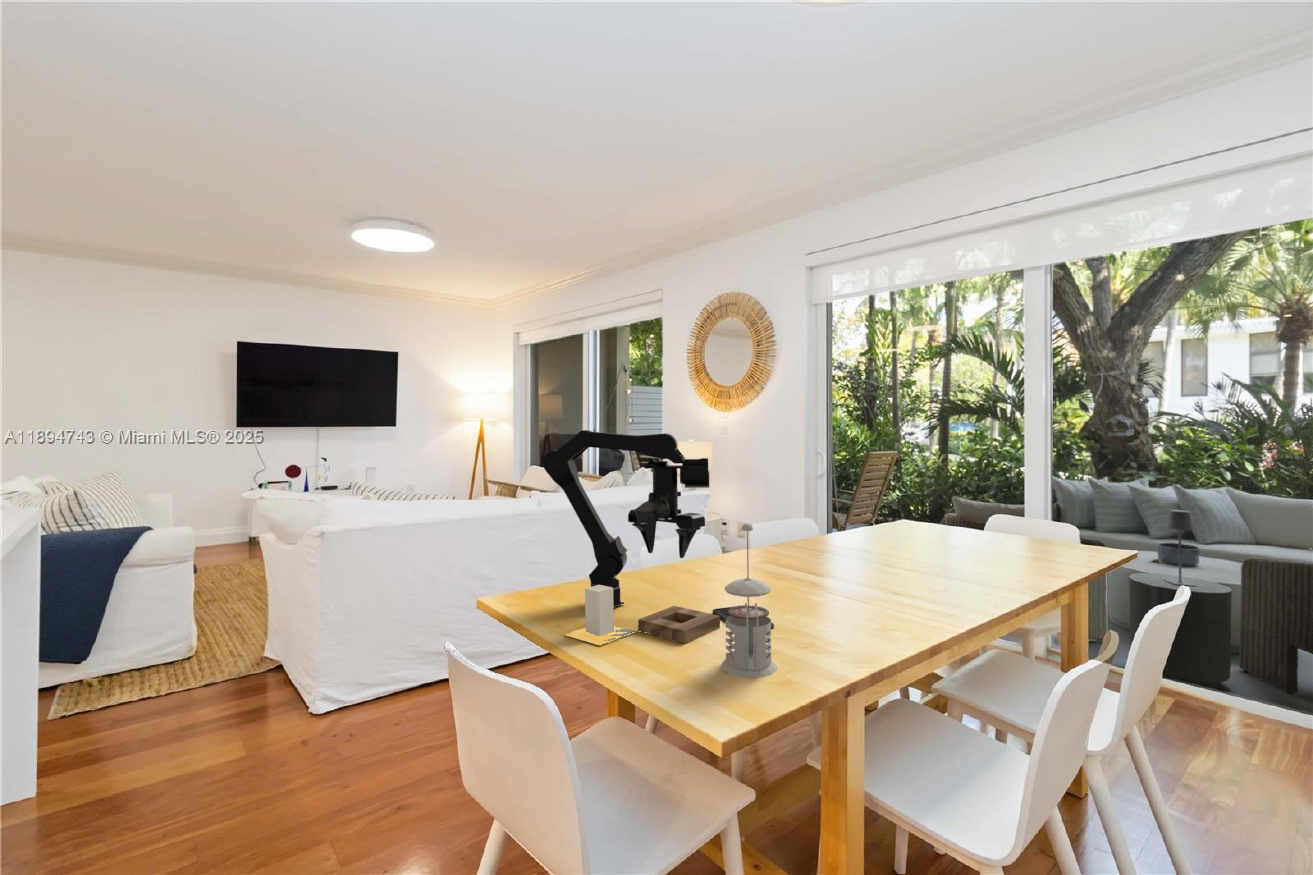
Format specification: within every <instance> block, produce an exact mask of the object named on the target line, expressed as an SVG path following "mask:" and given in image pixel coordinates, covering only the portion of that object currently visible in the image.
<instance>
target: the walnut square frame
mask: <svg viewBox="0 0 1313 875" xmlns="http://www.w3.org/2000/svg"><path fill="white" fill-rule="evenodd" d="M720 628H721V619H720V616H719V615H714V614H713V613H709V612H705V611H700V610H694V609H692V608H686V607H681V606H677V605H672V606H669V607H667V608H664V609H662V610H659V611H657V612H654V613H651V614H649V615H646V616H643V617H641V618H638V619H637V630H638V631H641V632H640V633H642V632H647V633H650V634H653V635H652V636H654V635H655V636H654V637H657V636H661V637H663V638H662V639H665V638H666V639H665V640H669V641H674V642H676V641H677V642H678V643H681V644H684V645H686V644H688V643H690V642H692V641H694V640H697V639H699V638H701V637H703V636H705V635H707V634H710V633H712V632H714V631H716V630H718V629H720ZM638 631H637V632H638ZM650 634H649V635H650ZM661 637H660V638H661Z"/></svg>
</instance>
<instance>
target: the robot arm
mask: <svg viewBox="0 0 1313 875" xmlns="http://www.w3.org/2000/svg"><path fill="white" fill-rule="evenodd" d="M678 445H679V444H678V441H677V439H676V438H675V436H674V435H673V434H672V433H671V434H670V433H665V432H663V433H656V434H654V433H653V434H645V435H644V434H643V435H637V434H636V435H635V434H623V433H610V432H600V431H592V430H589V429H585V430H580V431H579V432H578V433H576V435H575V436H574V437H572V438H571V439H570V440H568V441H567V442H565V443H564V444H563V445H562V446H560V447H559V448H558V449H553V450H551V451H548V452H547V453H546V454H545V455H544V457H543V460H542V467H543V469H544V471H545V472H546V473H547V475H548V476H549V477H550V478H551V479H552V481H553V482H554V483H555V484H556V485H558V487H559V488H561V489H562V491H563V492H564V494H565V496H566V498H567V500H568V501H569V503H570V505H571V507H572V508H573V511H574V512H575V514H576V516H577V517H578V519H579V521H580V523H581V525H582V527H583V528H584V531H585V533H586V534H587V537H589V539H590V541H591V545H592V548H593V553H594V558H595V560H596V563H597V565H596V566H595V567H594V568H593V570H592V571H591V572H590V573H589V575H588V578H589V580H590V587H593V586H596V585H603V586H608V587H613V607H615V606H618V605H621V604H624V605H625V602H624V601H621V586H620V580H619V579H618V578H617V576H618V575H619V574H620V573H621V572H622V571H623V569H624V567H625V565H627V562H628V555H627V551H628V549H627V548H626V547H625V546H624V545H623V542H622V540H621V537H620V536H619V535H618V536H616V537H615V538H614V537H613V536H612V535H611V534H610V533H609V532H608V531H607V529H606V526H605V524H604V523H603V521H602V520H601V517H600V516H599V514H598V512H597V510H596V509H595V507H594V505H593V504H592V502H591V499H590V498H589V496H588V494H587V492H586V491H585V488H584V487H583V485H582V483H581V482H580V478H579V474H578V467H577V465H576V462H575V461H576V460H577V459H578V458H579V457H580V456H582V454H583V453H585V452H586V450H588V449H589V448H595V449H606V450H615V451H616V450H618V451H629V452H635V453H640V454H643V455H646V456H649V457H651V458H650V459H649V460H648V461H647V463H645V465H644V466H643V468H644V469H652V492H649V494H648V500H647V501H644V502H643V503H641V504H640V505H639V506H638V507H635V508H634V509H630V510H629V512H628V513H627V522H628V523H631V524H632V525H631V526H633V527H635V528H636V529H637V530H639V531H640V534H641V536H642V538H643V540H644V541H643V542H644V545H645V548H646V549H647V553H649V554H653V551H654V547H655V541H656V538H655V537H656V532H657V531H656V530H657V522H662V523H668V524H675V525H676V526H677V528H675V532H676V534H677V535H678V554H679V558H680V559H684V557H685V556H686V554H687V551H688V550H689V547H690V545H691V542H692V540H693V538H694V536H695V534H696V533H697V531H700V530H701V528H702V527H705V526H706V518H705V516H704V515H703V513H698V512H686V513H682V509H679V507H678V506H679V504H678V503H679V502H678V501H679V500H678V498H679V497H682V491H678V469H679V483H680V484H682V485H684V488H685V489H686V488H687V489H692V488H693V489H699V488H700V489H702V488H703V489H706V488H707V489H710V470H709V457H700V458H686V457H685V455H684V454H683V453H682V452H681V451H680V450H679V448H678ZM654 458H657V459H660V460H655V459H654ZM668 460H669V461H670V462H672V463H673V465H672V464H669V463H668ZM674 464H675V465H674ZM676 464H677V465H676ZM678 464H679V465H678ZM681 464H682V465H681Z"/></svg>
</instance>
